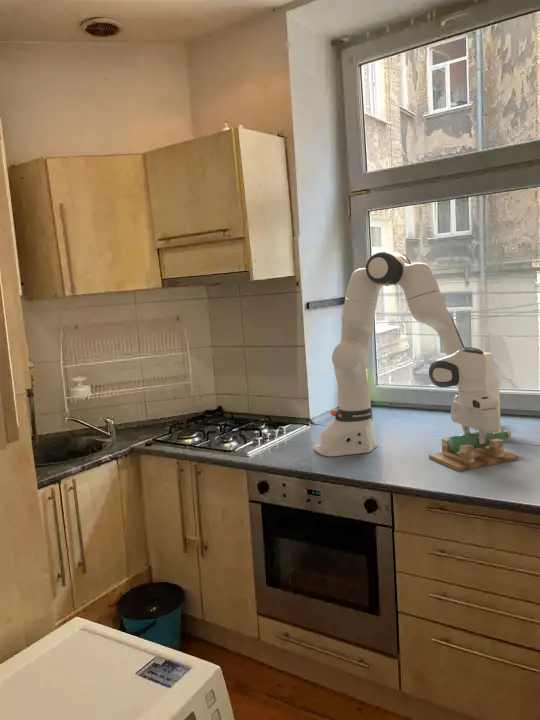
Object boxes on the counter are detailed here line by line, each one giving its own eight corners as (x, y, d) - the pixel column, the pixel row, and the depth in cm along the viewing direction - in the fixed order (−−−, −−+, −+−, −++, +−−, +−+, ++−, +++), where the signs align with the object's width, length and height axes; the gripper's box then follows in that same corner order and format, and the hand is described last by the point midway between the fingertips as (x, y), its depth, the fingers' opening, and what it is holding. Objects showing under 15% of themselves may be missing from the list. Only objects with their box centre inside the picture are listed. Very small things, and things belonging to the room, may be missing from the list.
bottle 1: (502, 437, 218) (500, 354, 215) (479, 438, 220) (476, 355, 216) (499, 432, 226) (496, 351, 222) (476, 432, 228) (473, 352, 224)
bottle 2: (457, 454, 193) (457, 439, 192) (448, 449, 198) (448, 434, 197) (513, 443, 199) (513, 428, 198) (503, 439, 204) (503, 424, 203)
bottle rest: (458, 471, 187) (457, 450, 186) (428, 458, 202) (428, 439, 201) (518, 459, 193) (517, 439, 193) (485, 447, 208) (484, 429, 208)
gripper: (445, 394, 204) (447, 435, 206) (485, 405, 185) (486, 449, 187) (461, 392, 206) (463, 432, 208) (502, 402, 187) (504, 446, 189)
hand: (474, 440), depth 197 cm, fingers closed on bottle 2, 5 cm apart
